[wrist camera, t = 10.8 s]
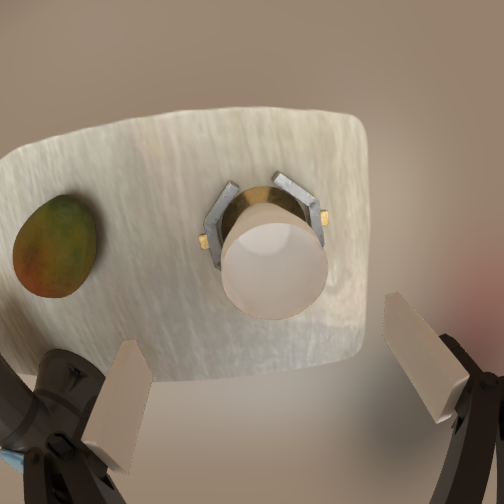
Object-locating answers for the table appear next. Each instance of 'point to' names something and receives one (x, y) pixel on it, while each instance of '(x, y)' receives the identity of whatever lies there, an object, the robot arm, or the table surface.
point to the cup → (272, 263)
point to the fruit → (55, 248)
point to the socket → (254, 197)
